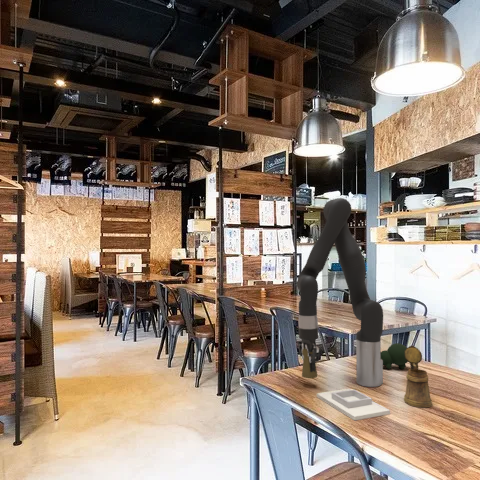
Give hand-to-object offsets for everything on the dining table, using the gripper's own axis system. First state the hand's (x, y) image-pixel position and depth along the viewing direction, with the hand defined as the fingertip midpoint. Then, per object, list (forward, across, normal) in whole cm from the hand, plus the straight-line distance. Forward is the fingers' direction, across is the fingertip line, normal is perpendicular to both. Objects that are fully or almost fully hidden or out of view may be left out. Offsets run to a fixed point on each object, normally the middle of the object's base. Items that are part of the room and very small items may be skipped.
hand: (309, 369), depth 163 cm
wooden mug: (+7, -27, -27) cm, 39 cm away
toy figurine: (+8, +8, -44) cm, 46 cm away
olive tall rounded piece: (+3, 0, 0) cm, 3 cm away
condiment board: (+6, -22, -3) cm, 23 cm away
